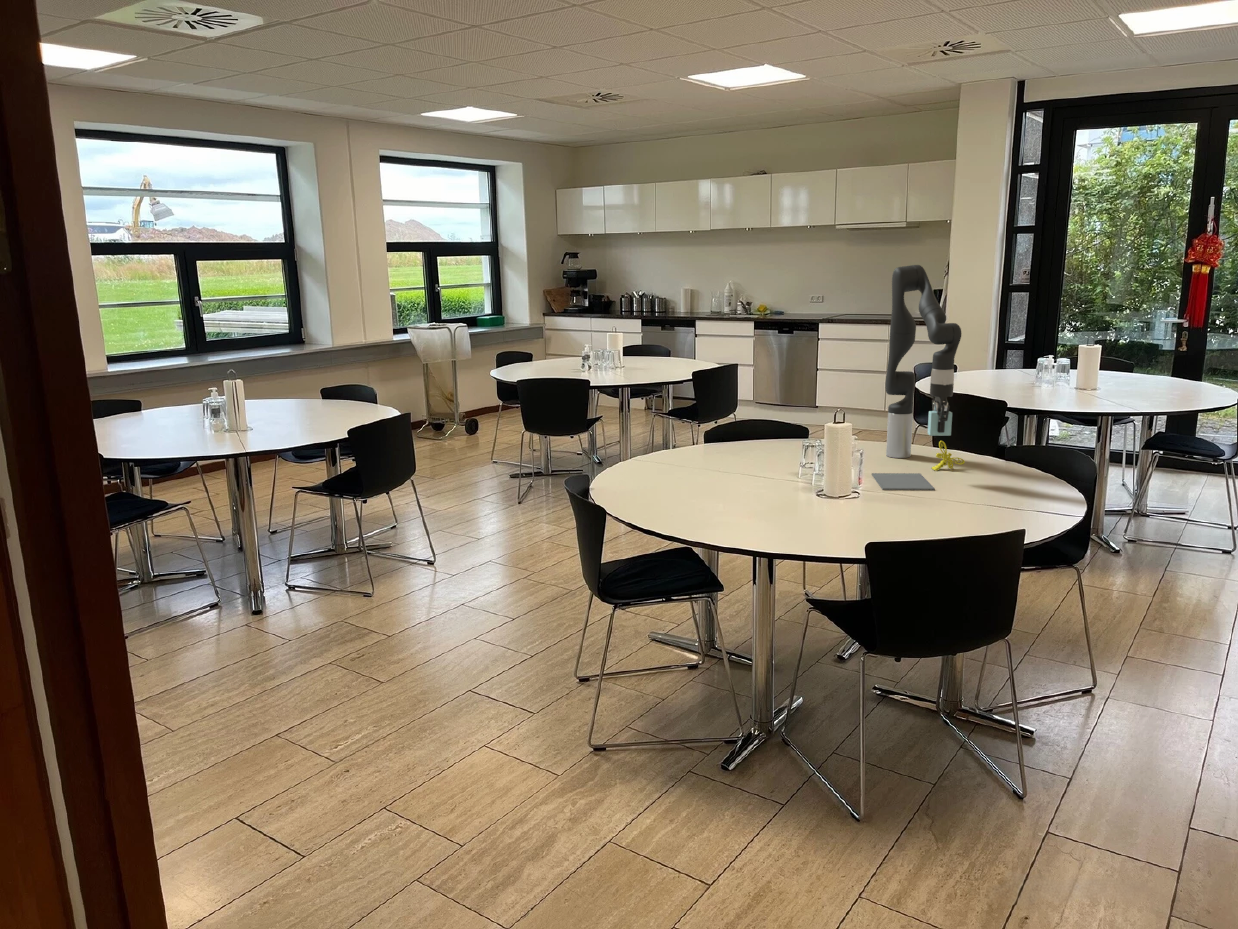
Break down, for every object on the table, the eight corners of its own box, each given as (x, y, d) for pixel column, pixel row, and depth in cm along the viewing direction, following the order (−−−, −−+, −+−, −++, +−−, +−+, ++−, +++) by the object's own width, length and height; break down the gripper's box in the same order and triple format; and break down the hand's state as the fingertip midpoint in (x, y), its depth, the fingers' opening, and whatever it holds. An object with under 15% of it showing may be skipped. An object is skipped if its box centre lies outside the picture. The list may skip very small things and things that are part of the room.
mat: (871, 474, 326) (871, 473, 326) (920, 474, 325) (920, 473, 324) (882, 490, 305) (882, 488, 305) (934, 490, 303) (934, 488, 303)
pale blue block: (927, 433, 317) (928, 410, 315) (947, 433, 317) (949, 410, 315) (930, 435, 314) (931, 412, 312) (950, 435, 313) (952, 412, 311)
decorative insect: (945, 481, 335) (964, 461, 334) (949, 483, 332) (968, 463, 331) (921, 460, 332) (940, 439, 331) (925, 461, 329) (944, 441, 328)
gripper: (925, 379, 318) (923, 427, 322) (936, 384, 304) (933, 435, 308) (947, 379, 318) (944, 427, 321) (959, 384, 304) (956, 435, 308)
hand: (939, 430), depth 315 cm, fingers closed on pale blue block, 3 cm apart
